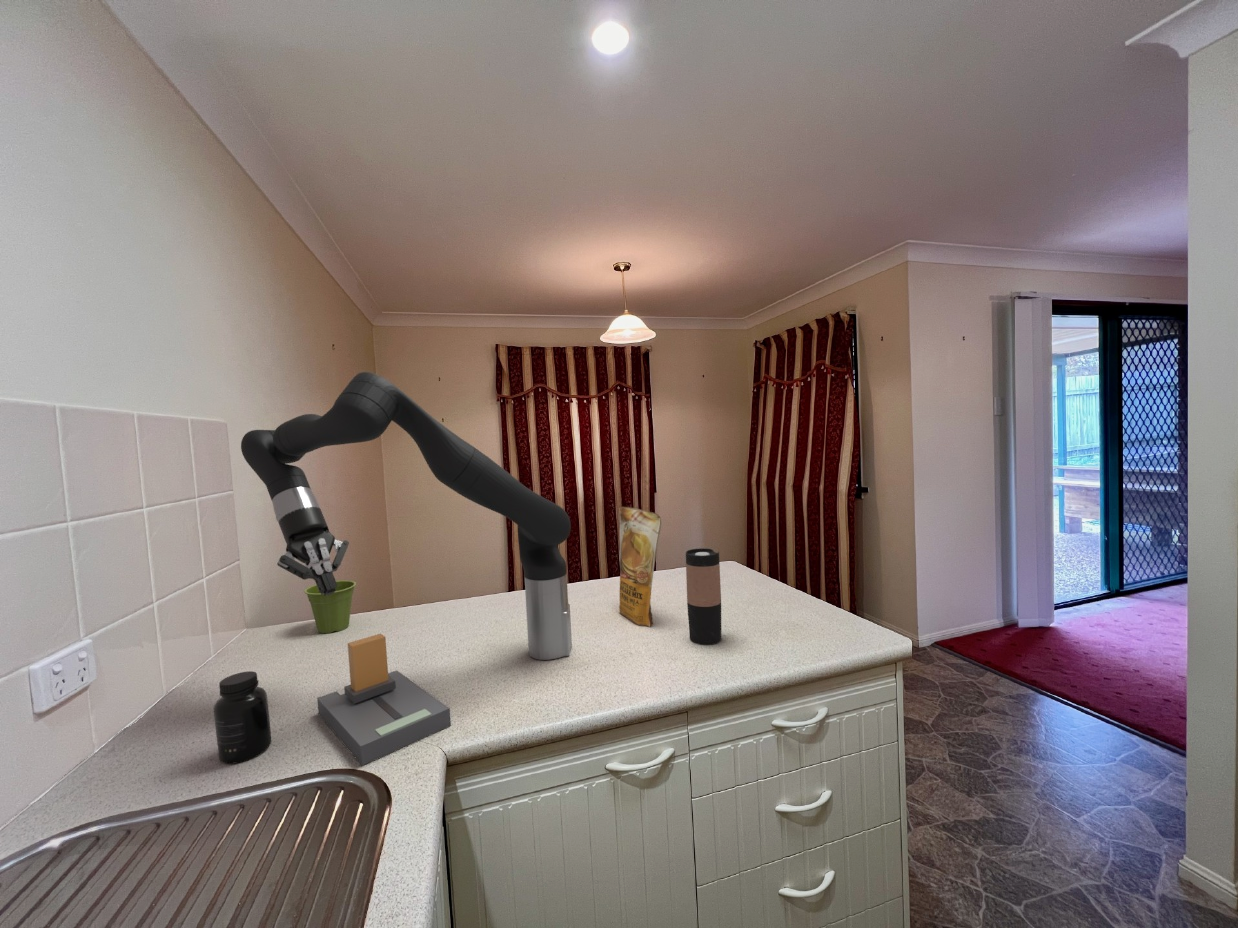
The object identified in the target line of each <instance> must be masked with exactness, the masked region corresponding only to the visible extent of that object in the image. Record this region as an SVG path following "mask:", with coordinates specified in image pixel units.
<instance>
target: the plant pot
mask: <svg viewBox="0 0 1238 928" xmlns="http://www.w3.org/2000/svg"><path fill="white" fill-rule="evenodd" d="M336 583H337V588H336V589H335V592H334V593H333V594H330V595H327V596H324V594H321V593H320V592H319V589H318V587H317V585H316V584H314V585H311V586H309V587H307V588H306V589H304V594H306V595H307V598H308V602H309V603H310V606H311V610H312V614H313V619H314V622H315V625H316V630H317V631H318V632H319V633H320V634H330V633H334V632H339V631H343V630H345V629H347V628H349V626H350V621H351V620H350V619H351V610H352V608H351V607H352V601H353V599H352V598H353V594H354V591H355V590H354V588H355V586H356V585H357V582H356V581H354V580H345V579H344V580H336Z"/></svg>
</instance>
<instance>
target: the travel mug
mask: <svg viewBox="0 0 1238 928" xmlns="http://www.w3.org/2000/svg"><path fill="white" fill-rule="evenodd" d="M720 566H721V565H720V551H717V552H716V551H714V549H712V548H706V547H705V548H692V549H687V551H686V552H685V573H686V574H685V575H686V576H685V577H686V602H687V603H686V605H687V606H686V607H687V617H688V618H687V619H688V634H689V639H690V641H691V642H692V643H694V644H697V645H703V646H707V645H708V646H710V645H715V644H718V643H720V642H721V641H722V592H721V591H722V590H721V589H722V588H721V586H722V585H721V569H720Z"/></svg>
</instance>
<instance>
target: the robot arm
mask: <svg viewBox="0 0 1238 928" xmlns="http://www.w3.org/2000/svg"><path fill="white" fill-rule="evenodd" d="M392 422H393V423H395V424H396V425H398V426H399V427H400V428H401V429H402V430H404V431H405V432H406V433H407V434H408V435H409V436H410V438H412V439H413V441H414V442H415V444H416V445H417V447H418V449H419V451H420V453H421V454H422V457H423V458H424V461H425V462H426V464H427V466H428V468H429V469H430V471H431V473H432V474H433V475H434V477H435V478H436V479H437V480H438V481H439V482H440V483H441V484H443V485H444V486H446V487H447V488H449V489H451V490H452V491H454V492H456V493H457V494H459V495H461V496H462V497H464V498H465V499H467V500H469V501H471V502H473V503H474V504H477V505H479V506H481V507H483V508H486V509H489V510H491V511H493V512H496V513H498V514H500V515H502V516H504V517H506V518H508V519H509V520H510V521H512V522H513V523H515V524H516V525H517V540H518V541H517V542H518V548H519V549H518V551H519V558H520V562H521V566H522V568H523V574H524V575H523V576H524V586H525V587H524V590H525V591H524V592H525V609H526V610H525V613H526V629H527V646H528V648H527V649H528V655H529V657H531V658H532V659H535V660H540V661H544V660H546V661H548V660H549V661H550V660H555V659H559V658H563V657H569V656H570V653H571V650H572V646H573V642H572V641H573V639H572V636H573V635H572V621H571V604H569V595H568V594H569V592H568V590H569V589H568V571H567V561H566V560H565V558H564V557H563V556H562V554H561V552H560V550H559V546H558V545H560V544H562V543H564V542H565V541H566V540H567V539H568V538H569V536H570V533H571V529H572V524H571V519H570V516H569V515H568V512H566V511H565V509H564V508H563V507H561V506H560V505H558V504H556V503H554V502H553V501H551V500H549V499H547V498H545V497H543V496H542V495H540V494H538V493H536V492H534V491H533V490H531V489H530V488H529V487H528V486H527V487H526V486H525V485H524V484H523V483H521V482H520V481H519V480H518V479H517V478H516V477H514V476H513V475H512V474H511V473H509V472H508V471H507V470H506V469H504V468H503V467H502V466H500V465H499V464H498V463H496V462H495V461H494V460H493V459H491V458H490V457H489V456H487V455H486V454H485V453H483V452H482V451H480V450H479V449H477V448H476V447H475V446H473V445H472V444H470V443H469V442H467V441H466V440H464V439H462V438H461V437H459V435H457V434H455V432H453V431H452V430H450V429H449V428H448V427H446V426H445V425H444V424H442V423H441V422H440V421H438V419H436V418H434V417H433V416H432V415H430V413H428V411H426V410H425V409H424V408H422V407H421V406H420V405H419V404H418V403H416V402H415V401H414V400H413V399H412V398H411V397H410V396H408V394H407V393H405V392H404V391H403V390H402V389H400V388H399V387H398V386H396V385H395V384H394V383H393V382H391V381H390V380H388V379H387V378H384V377H383V376H381V375H378V374H376V373H374V372H369V371H364V372H363V371H362V372H358V373H357V374H356V375H354V377H353V378H351V381H349V383H348V384H347V385H346V387H345V388H344V389H343V390H342V392H341V393H340V394H339V395H338V397H337V398H336V399H335V401H334V403H333V405H332V407H330V409H329V410H328V411H327V412H326V413H324V414H322V415H319V414H315V413H307V414H306V413H305V414H302V415H301V414H300V415H299V416H296V417H294V418H291V419H290V420H289V419H288V420H286V421H285V422H283V423H281V424H280V425H278V426H277V427H276V429H252V430H249V431H247V432H246V433H245V434H244V435H243V437H242V438H241V441H240V450H241V453H242V456H243V458H244V460H245V461H246V463H247V464H248V466H249V467H250V468H251V469H252V470H253V471H254V473H255V474H256V475H257V476H258V478H259V480H261V481H262V483H263V484H264V485H265V488H266V490H267V492H268V494H269V498H270V499H271V502H272V507H273V513H274V515H275V520H276V522H277V523H278V526H279V528H280V530H281V533H282V537H283V539H284V540H285V543H286V548H285V553H284V554H282V555H281V556H280V557H279V558H278V561H277V564H276V565H277V566H278V567H280V568H282V569H283V570H285V571H287V572H289V573H291V574H293V575H295V576H297V577H298V578H299V579H301V580H308V579H310V580H311V579H312V580H313V581H315V585H317V587H318V589H319V592H320V593H321V594H324V596H327V595H330V594H333V593H334V592H335V589H336V588H337V583H336V581H337V580H336V579H335V575H334V572H336V571H338V570H339V569H338V568H339V567H340V566H341V565H342V561H343V559H344V557H345V555H346V552H347V549H348V547H349V545H350V541H349V540H343V541H341V540H338V539H336V538H335V537H336V536H335V535H333V534H332V533H331V532H330V529H329V526H328V524H327V522H326V518H325V516H324V513H323V512H322V509H321V507H320V504H319V502H318V500H317V497H316V496H315V494H314V492H313V490H312V489H311V487H310V484H309V481H308V479H307V476H306V474H305V473H306V472H304V470H303V469H302V468H301V467H299V466H296V465H293V464H291V463H297V462H298V461H300V460H301V459H302V458H303V457H304V456H305V455H306V454H308V453H310V452H313V451H316V450H318V449H321V448H323V447H330V446H340V445H348V444H357V443H365V442H369V441H374V440H376V439H378V438H380V437H381V436H382V435H383V434H384V432H385V431H386V430H387V429H388V427H389V425H390V423H392ZM333 547H334V548H333ZM333 549H334V552H336V554H335V556H334V559H333V561H332V562H331V556H330V554H331V552H332V550H333ZM296 560H298V561H299V562H298V561H296ZM300 562H301V563H300ZM303 564H304V565H303Z"/></svg>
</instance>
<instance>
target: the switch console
mask: <svg viewBox="0 0 1238 928" xmlns="http://www.w3.org/2000/svg"><path fill="white" fill-rule="evenodd" d="M388 676H390V677H391V678H392V679H394V680H395V684H396V689H393V690H390V691H387V692H385V693H382V694H379V695H377V696H374V697H371V698H369V699H366V700H363V701H361V702H358V703H355V704H354V703H353V702H352V701H351V700H350V699H349V698H348V697H347V696H346V695H345V691H344V688H341V689H338V690H336V691H333V692H330V693H328V694H325V695H322V696H318V697H317V699H316V700H317V712H318V716H319V717H320V718H321V719H322V720H323V721H324V723H325V724H326V725H327V726H328V727H329V729H330V730H331V731H332V732H333V733H334V734H335V735H336V737H337V738H338V739H339V741H340V742H341V743H342V744H343V745H344V746H345V748H347V750H348V751H349V752H350V753H351V754H352V755H353V757H354V758H355V759H356V761H358V763H359V764H360V765H361V766H362V767H363V766H365V765H367V764H370V763H372V762H374V761H376V760H378V759H381V758H383V757H386V756H387V755H388V756H389V754H392V753H394V752H396V751H398V750H400V749H403V748H405V747H407V746H410V745H412V744H414V743H416V742H418V741H421V740H422V739H425V738H427V737H429V736H431V735H434V734H436V733H438V732H440V731H442V730H444V729H446V728H449V727H451V726H452V722H451V708H450V707H448V706H447V705H446V704H444V703H443V702H442V701H440V700H439V699H437V698H436V697H435V696H433V695H432V694H431V693H429V692H428V691H426V690H425V689H424V688H422V687H421V686H419V685H418V684H417V683H415V682H414V681H413V680H411V679H409V678H408V677H407V676H405V675H404V674H403V673H401V672H400V671H398V670H397V669H396V670H394V671H391V672H388Z"/></svg>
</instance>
